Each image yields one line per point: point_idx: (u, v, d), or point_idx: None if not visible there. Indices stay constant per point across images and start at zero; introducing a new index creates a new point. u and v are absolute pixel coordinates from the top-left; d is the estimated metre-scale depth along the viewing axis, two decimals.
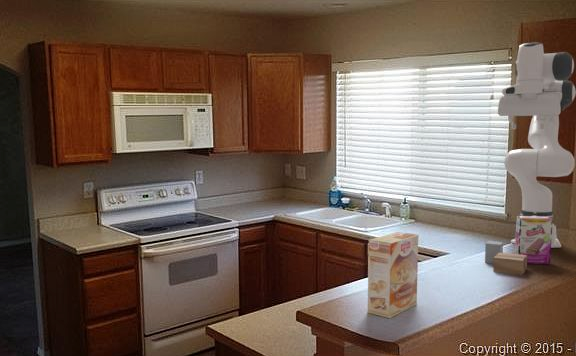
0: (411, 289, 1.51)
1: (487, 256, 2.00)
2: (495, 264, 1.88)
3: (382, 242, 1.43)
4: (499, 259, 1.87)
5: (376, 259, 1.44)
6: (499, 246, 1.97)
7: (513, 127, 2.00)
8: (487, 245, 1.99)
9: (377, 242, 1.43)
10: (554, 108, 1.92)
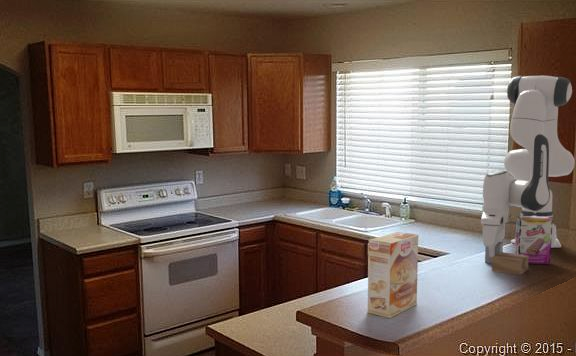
0: (411, 289, 1.51)
1: (487, 256, 2.00)
2: (494, 263, 1.89)
3: (382, 242, 1.43)
4: (497, 259, 1.88)
5: (376, 259, 1.44)
6: (499, 246, 1.97)
7: (494, 255, 1.98)
8: None
9: (377, 242, 1.43)
10: (504, 232, 2.06)
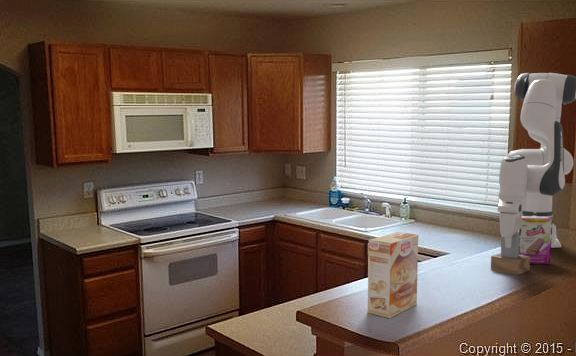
0: (411, 289, 1.51)
1: (503, 250, 1.88)
2: (492, 263, 1.90)
3: (382, 242, 1.43)
4: (496, 258, 1.88)
5: (376, 259, 1.44)
6: (516, 239, 1.86)
7: (511, 246, 1.84)
8: (503, 238, 1.88)
9: (377, 242, 1.43)
10: (521, 221, 1.95)
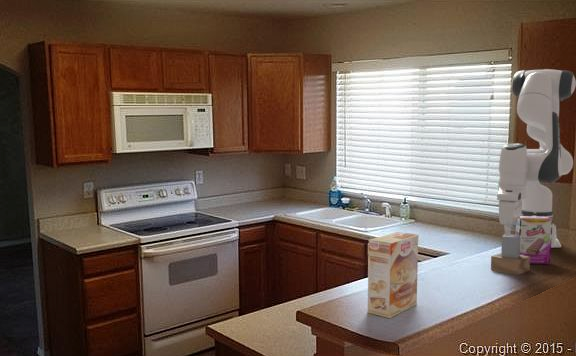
0: (411, 289, 1.51)
1: (503, 250, 1.88)
2: (492, 263, 1.90)
3: (382, 242, 1.43)
4: (496, 258, 1.88)
5: (376, 259, 1.44)
6: (516, 239, 1.86)
7: (510, 234, 1.85)
8: (503, 238, 1.88)
9: (377, 242, 1.43)
10: (521, 209, 1.94)
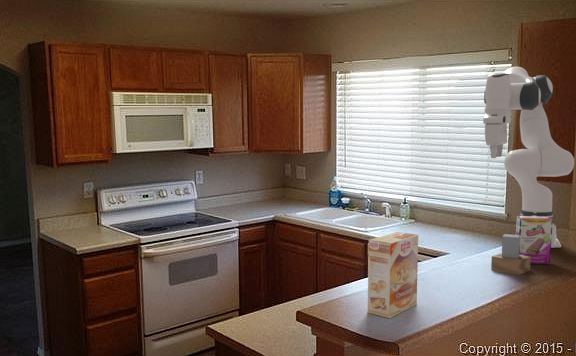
0: (411, 289, 1.51)
1: (504, 250, 1.88)
2: (493, 263, 1.89)
3: (382, 242, 1.43)
4: (496, 258, 1.88)
5: (376, 259, 1.44)
6: (517, 239, 1.86)
7: (496, 156, 1.97)
8: (504, 238, 1.87)
9: (377, 242, 1.43)
10: (506, 137, 2.07)
